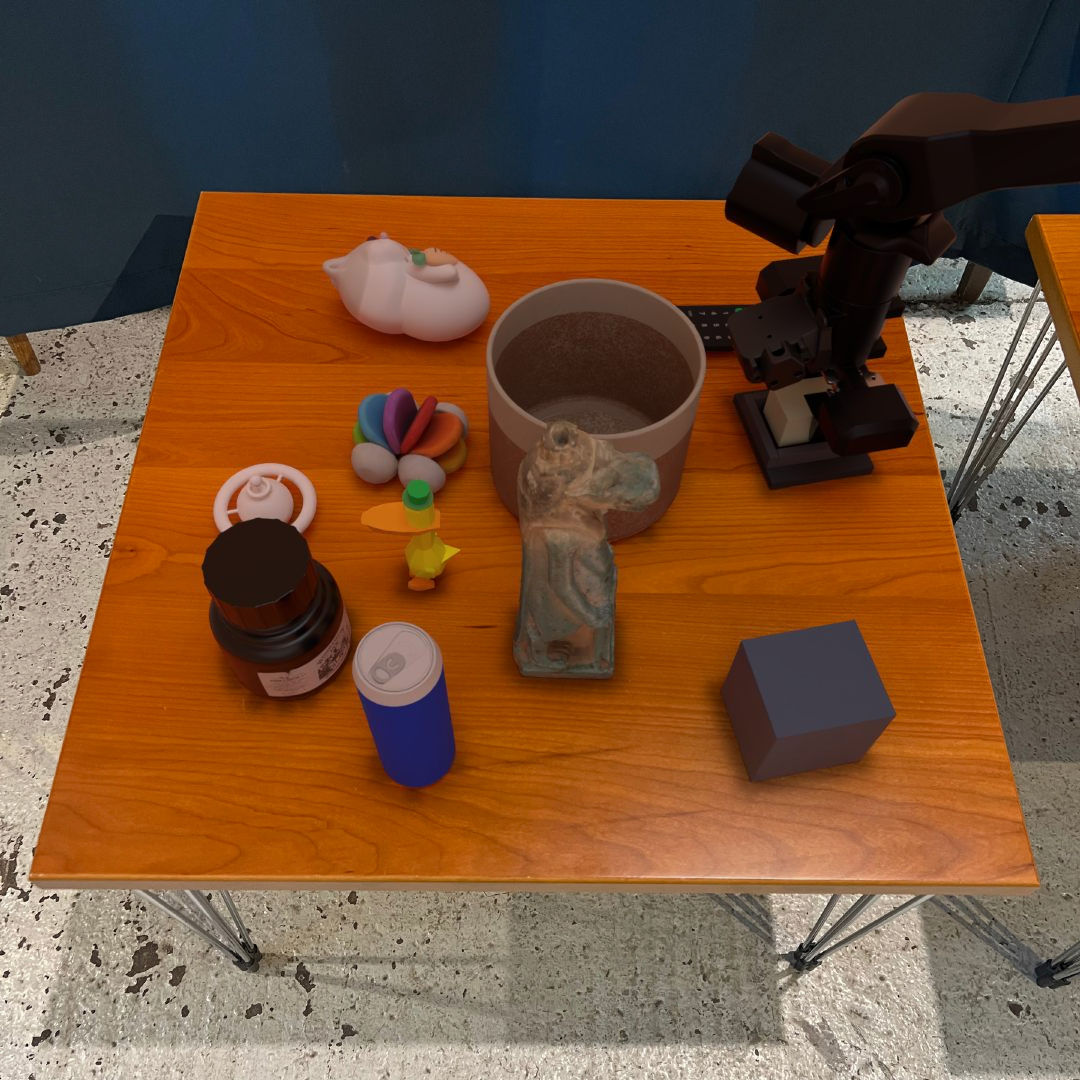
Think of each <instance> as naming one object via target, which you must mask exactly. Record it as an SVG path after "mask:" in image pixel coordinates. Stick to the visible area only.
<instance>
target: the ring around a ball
mask: <svg viewBox="0 0 1080 1080" xmlns="http://www.w3.org/2000/svg"><path fill="white" fill-rule="evenodd" d="M269 477H277V478H276V479H274V478H269ZM282 479H286V480H288V481H290V482H292V483H293V484H295V486H296V487H297V488H298V489H299V491H300V493H301V495H302V502H303V503H302V508H301V512H300V513H299V515H298V516H297V518H296V519H295V520H294V521H293V522H292V523H291V525H293V526H295V527H296V528H297V530H298V531H299V532H300V533H301V535H303V533H304V532H305V531H306V530H307V529H308V527H309V526H310V525H311V523H312V521H313V520H314V518H315V514H316V511H317V504H318V501H317V500H318V499H317V498H318V497H317V493H316V489H315V487H314V485H313V483H312V481H311V480H310V479H309V478H308V477H307V475H305V474H304V473H303V472H302V471H300V470H298V469H297V468H294V466H293V467H292V466H290V465H287V464H284V463H278V462H265V463H264V462H263V463H258V464H254V465H250V466H247V467H245V468H243V469H241V470H240V471H239V470H238V471H237V472H236V473H234V474H233V475H232V476H230V477H229V478H228V479H227V480H226V481H225V482H224V483H223V484H222V485H221V487H220V489H219V491H218V492H217V494H216V496H215V499H214V502H213V510H212V513H213V519H214V522H215V526H216V528H217V529H218V531H219V533H221V532H223V531H225V530H227V529H228V528H230V527H232V526H233V525H234V524H233V523H232V522H231V520H230V518H229V515H231V514H238V517H239V519H240V520H241V522H243V521H247V520H251V519H254V518H258V517H260V518H268V519H280V520H281V521H283V522H285V523H287V524H289V521H290V520H291V519H292V516H293V513H294V509H295V508H294V507H295V505H294V499H293V496H292V493H291V491H290V490H289V489H288V487H287V486H286V485H285V484H284V483H282V482H281V481H282ZM241 487H242V488H241ZM240 488H241V490H240V492H239V493H238V496H237V499H236V508H235V509H230V510H229V509H228V508H229V503H230V501H231V499H232V497H233V496H234V494H235V493H236V491H238V490H239V489H240Z"/></svg>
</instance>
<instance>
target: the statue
mask: <svg viewBox="0 0 1080 1080" xmlns="http://www.w3.org/2000/svg"><path fill="white" fill-rule="evenodd" d="M660 491H661V486H660V475H659V470H658V467H657V464H656V463H655V462H654V461H653V459H652V456H650V455H648V454H645V453H640V452H633V453H625V454H623V453H621V452H619V451H616V450H615V449H614V446H613V443H612V442H610V441H609V440H598V439H593V438H592V437H590V436H589V435H588V434H587V433H586V432H584V431H581V430H579V429H577V425H575V424H572V423H570V422H567V421H565V420H563V421H556V422H547V429H546V430H545V431H544V433H543V434H542V436H541V439H540V440H539V441H537V442H536V443H535V444H534V445H533V446H532V447H531V448H530V450H529V451H528V453H527V455H526V457H525V459H522V461H521V464H520V466H519V473H518V478H517V499H518V508H519V519H518V520H519V529H520V534H521V575H520V587H519V588H520V589H519V599H518V602H519V605H518V610H517V613H516V617H515V621H514V625H515V629H514V631H513V634H512V642H513V644H512V657H513V660H514V663H515V665H516V666H517V667H518V671H519V673H520V674H521V676H523V677H534V678H552V679H553V678H554V679H555V678H556V679H597V680H607V679H608V680H609V679H610V678H612V677H613V676H614V675H615V640H616V639H615V636H616V635H615V632H616V631H615V618H616V609H617V604H616V595H617V589H618V577H619V576H618V575H619V572H618V566H617V564H616V563H615V562H614V559H615V557H616V554H615V552H614V547H613V545H612V544H610V542H608V541H606V540H607V538H608V536H609V530H608V526H607V522H606V519H605V516H604V514H605V513H607V512H608V510H609V509H616V510H621V511H626V512H635V513H639V512H641V511H644V510H646V508H647V506H648V504H651V503H654V502H655V501H656V500H657V499H658V498H659V496H660Z"/></svg>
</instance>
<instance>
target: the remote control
mask: <svg viewBox="0 0 1080 1080" xmlns="http://www.w3.org/2000/svg"><path fill="white" fill-rule="evenodd" d="M755 304H756V303H754V304H752V303H751V304H690V305H688V304H686V305H685V304H683V305H678V304H677V305H675V306H676V307H677V308H678V309H680V310H681V311H682V312H683V313H684V314H685V315H686V316H687V317H688V318H689V320H690V321H691V322H692V324H693V325H694V326H695V328H696V330H697V331H698V333H699V335H700V337H701V340H702V342H703V345H704V349H705V353H722V352H723V353H725V352H727V353H729V352H731V353H733V352H734V349H733V345H732V341H731V337H730V333H729V329H728V325H727V321H728V318H729V317H730V316H731V315H732V314H733V313H735V312H737V311H739V310H742V309H745V308H747V307H750V306H752V305H755ZM734 353H735V352H734Z"/></svg>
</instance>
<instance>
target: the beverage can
mask: <svg viewBox="0 0 1080 1080" xmlns="http://www.w3.org/2000/svg"><path fill="white" fill-rule="evenodd" d="M351 673H352V679H353V682H354V685H355V688H356V691H357V694H358V697H359V700H360V703H361V706H362V709H363V711H364V715H365V718H366V722H367V724H368V727H369V729H370V733H371V735H372V739H373V742H374V745H375V748H376V751H377V754H378V756H379V760H380V763H381V766H382V768H383V770H384V772H385V773H386V775H387V776H388V777H389V778H390V779H391V780H392V781H394V782H395V783H397V784H399V785H401V786H404V787H407V788H424V787H428V786H431V785H433V784H435V783H437V782H439V781H440V780H441V779H442V778H444V777H445V776H446V774H447V773H448V772H449V771H450V769H451V767H452V766H453V764H454V761H455V758H456V741H455V740H456V739H455V733H454V727H453V720H452V714H451V707H450V700H449V695H448V687H447V681H446V674H445V668H444V661H443V655H442V652H441V648H440V647H439V645H438V643H437V642H436V640H435V639H434V638H433V637H432V636H431V635H430V634H429V633H428V632H427V631H425V630H424V629H422V627H420V626H418V625H416V624H413V623H410V622H406V621H390V622H385V623H381V624H380V625H377V626H375V627H373V628H372V629H370V631H368V632H367V633H366V634H365V635H364V636H363V637H362V638H361V640H360V641H359V643H358V645H357V647H356V650H355V653H354V656H353V659H352V663H351Z"/></svg>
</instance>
